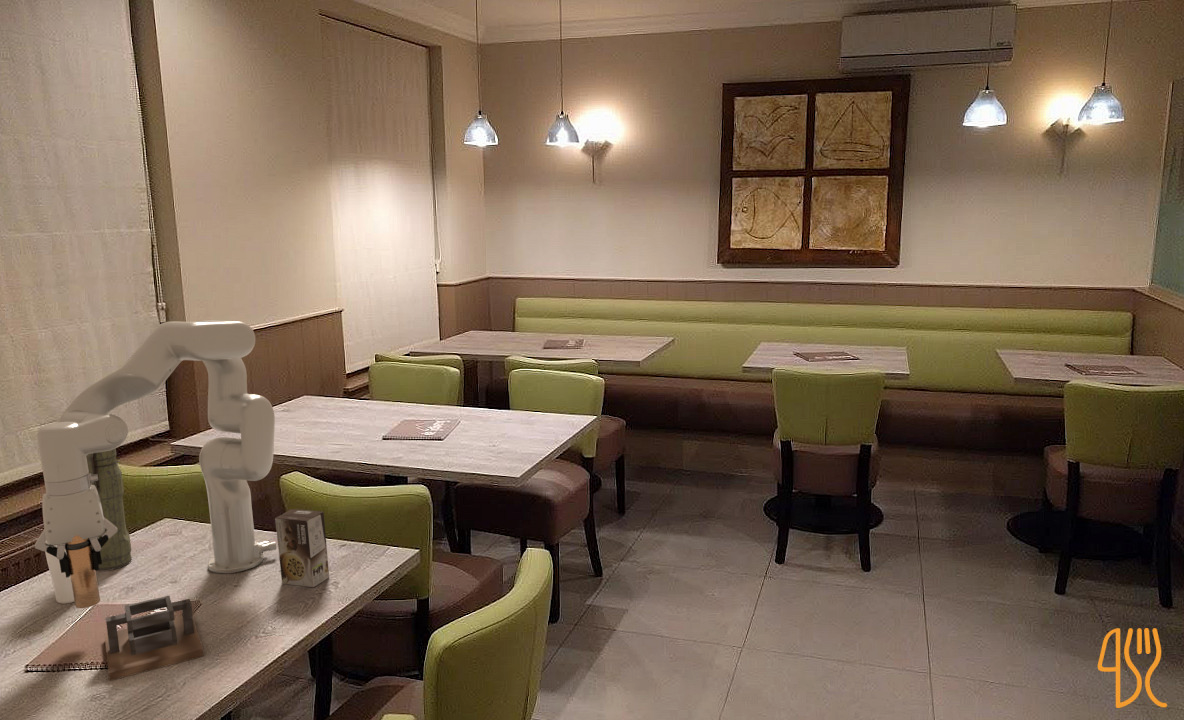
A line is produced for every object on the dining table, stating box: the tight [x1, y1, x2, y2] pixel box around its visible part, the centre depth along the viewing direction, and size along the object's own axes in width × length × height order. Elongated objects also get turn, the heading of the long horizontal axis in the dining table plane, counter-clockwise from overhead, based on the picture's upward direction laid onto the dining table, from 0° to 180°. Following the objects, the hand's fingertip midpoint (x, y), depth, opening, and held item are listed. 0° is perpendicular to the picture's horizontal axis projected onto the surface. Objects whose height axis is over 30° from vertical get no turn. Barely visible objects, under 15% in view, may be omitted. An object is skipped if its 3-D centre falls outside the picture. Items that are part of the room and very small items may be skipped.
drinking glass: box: [44, 540, 75, 605], centre depth 191 cm, size 7×7×15 cm
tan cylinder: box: [65, 535, 101, 609], centre depth 172 cm, size 5×5×16 cm
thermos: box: [86, 448, 133, 572], centre depth 209 cm, size 9×12×35 cm
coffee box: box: [274, 508, 330, 588], centre depth 198 cm, size 9×6×16 cm
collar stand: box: [104, 595, 205, 681], centre depth 168 cm, size 16×18×8 cm
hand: (82, 570), depth 172 cm, fingers closed on tan cylinder, 4 cm apart
